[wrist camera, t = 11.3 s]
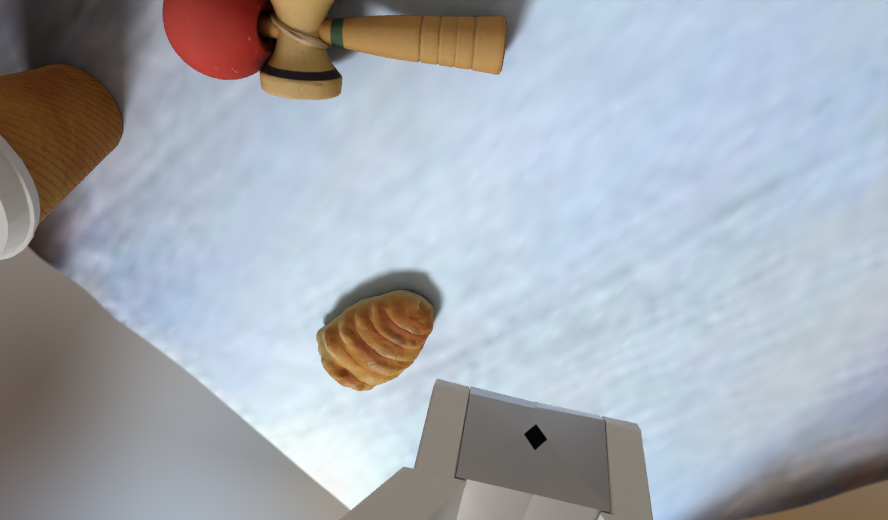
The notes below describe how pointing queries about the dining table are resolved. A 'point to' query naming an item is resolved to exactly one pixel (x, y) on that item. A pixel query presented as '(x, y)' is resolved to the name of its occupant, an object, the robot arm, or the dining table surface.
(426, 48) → the kendama
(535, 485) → the robot arm
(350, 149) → the dining table surface
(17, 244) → the disposable coffee cup
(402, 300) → the pastry
